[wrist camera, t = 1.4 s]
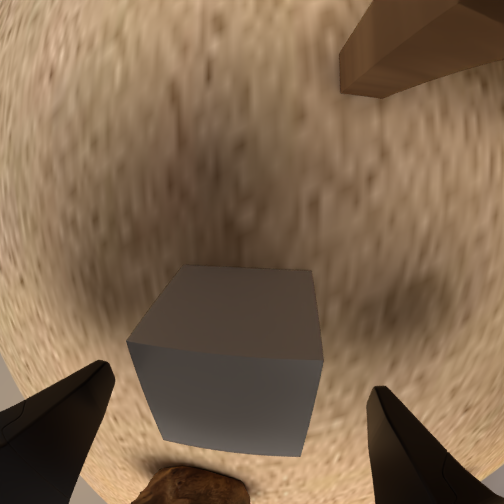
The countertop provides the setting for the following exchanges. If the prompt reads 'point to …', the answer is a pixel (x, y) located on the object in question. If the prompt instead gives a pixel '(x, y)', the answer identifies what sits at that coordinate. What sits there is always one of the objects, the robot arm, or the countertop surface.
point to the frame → (419, 43)
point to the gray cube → (232, 359)
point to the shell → (192, 488)
